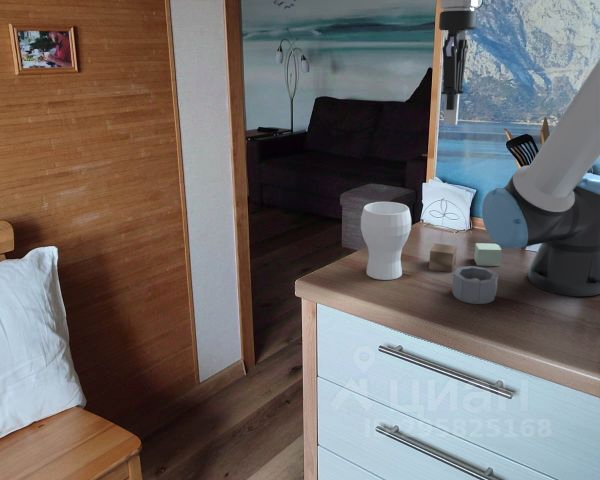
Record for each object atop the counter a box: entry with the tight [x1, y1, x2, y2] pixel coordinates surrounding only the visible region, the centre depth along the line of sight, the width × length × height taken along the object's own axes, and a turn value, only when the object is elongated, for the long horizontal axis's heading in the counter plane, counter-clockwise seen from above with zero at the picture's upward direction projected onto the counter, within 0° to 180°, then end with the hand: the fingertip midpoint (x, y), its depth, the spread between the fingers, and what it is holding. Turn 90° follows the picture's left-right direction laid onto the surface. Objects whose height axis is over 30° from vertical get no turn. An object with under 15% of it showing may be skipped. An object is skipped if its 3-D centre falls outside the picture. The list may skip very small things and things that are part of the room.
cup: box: [360, 201, 412, 281], centre depth 124 cm, size 11×11×15 cm
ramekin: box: [451, 265, 499, 305], centre depth 115 cm, size 8×8×5 cm
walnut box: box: [428, 243, 458, 273], centre depth 129 cm, size 5×5×4 cm
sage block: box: [473, 242, 503, 267], centre depth 131 cm, size 5×4×4 cm
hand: (450, 124), depth 128 cm, fingers closed
